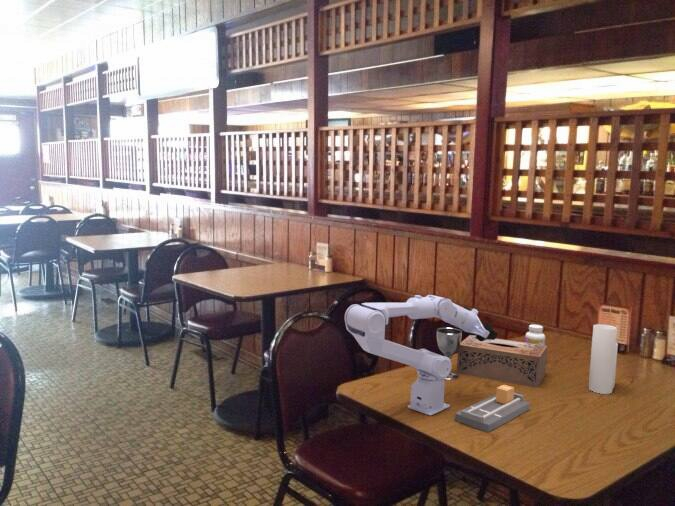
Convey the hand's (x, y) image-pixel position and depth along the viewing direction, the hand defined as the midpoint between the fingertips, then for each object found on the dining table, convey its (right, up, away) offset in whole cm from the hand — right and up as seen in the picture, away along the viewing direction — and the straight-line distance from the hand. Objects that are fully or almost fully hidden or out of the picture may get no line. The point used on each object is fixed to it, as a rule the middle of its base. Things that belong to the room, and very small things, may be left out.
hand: (487, 330), depth 173 cm
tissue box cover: (+10, -18, +20) cm, 28 cm away
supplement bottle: (+25, -16, +34) cm, 45 cm away
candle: (+37, -19, +8) cm, 43 cm away
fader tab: (+2, -18, -11) cm, 21 cm away
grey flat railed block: (-2, -21, -15) cm, 26 cm away
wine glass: (-9, -17, +17) cm, 26 cm away
